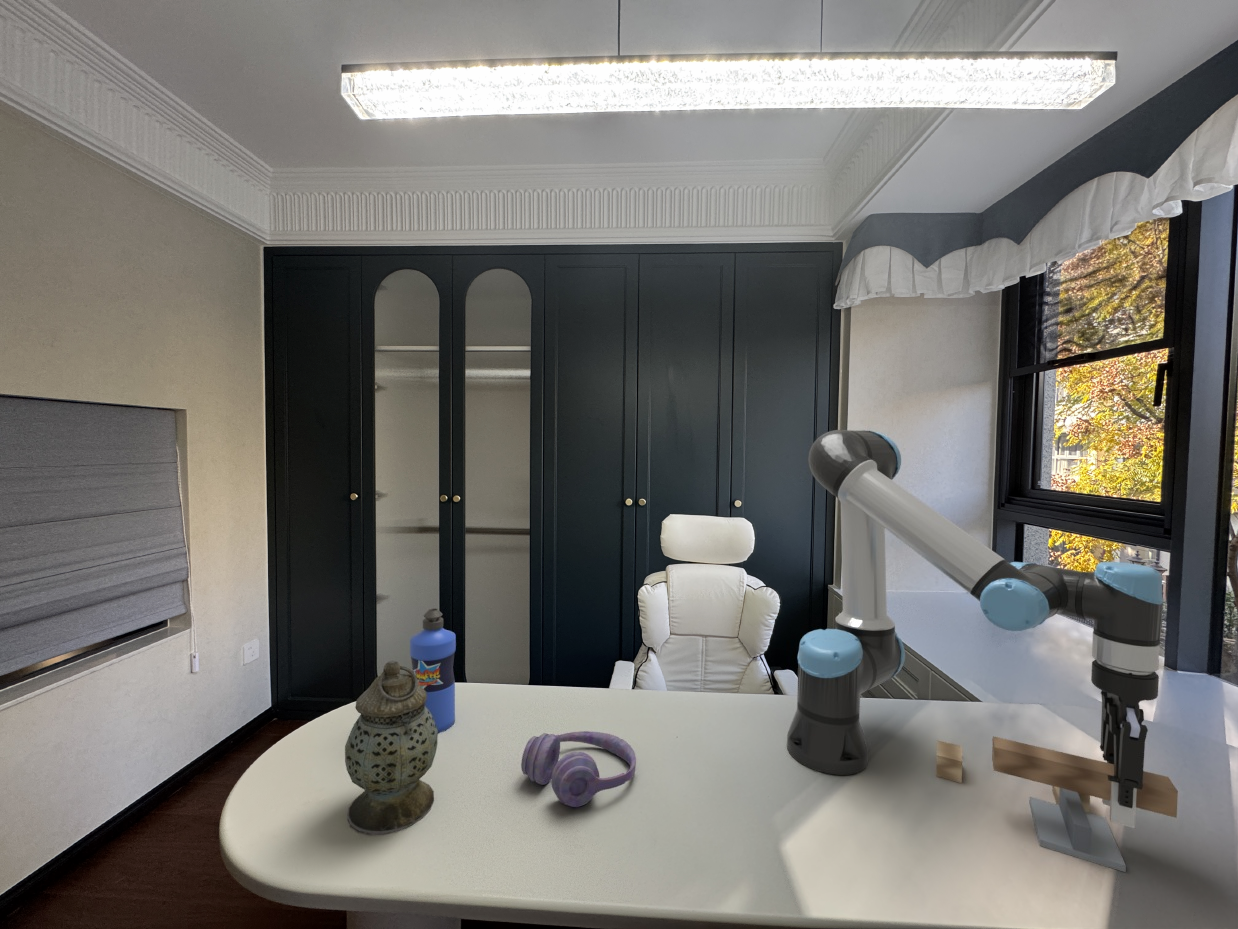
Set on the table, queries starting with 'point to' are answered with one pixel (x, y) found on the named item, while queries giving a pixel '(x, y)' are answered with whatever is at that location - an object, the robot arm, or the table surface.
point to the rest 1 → (949, 761)
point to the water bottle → (435, 668)
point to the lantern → (391, 754)
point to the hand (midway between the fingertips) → (1117, 814)
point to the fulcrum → (1075, 830)
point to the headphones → (574, 765)
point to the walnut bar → (1078, 774)
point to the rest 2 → (1083, 797)
